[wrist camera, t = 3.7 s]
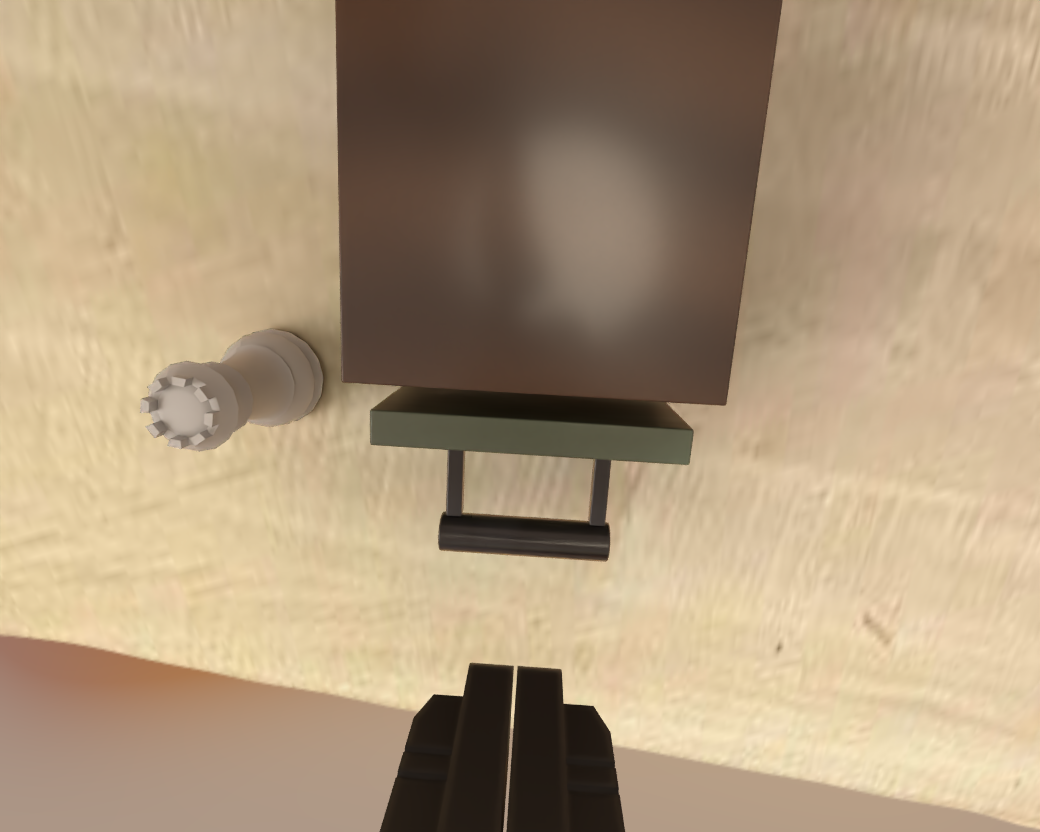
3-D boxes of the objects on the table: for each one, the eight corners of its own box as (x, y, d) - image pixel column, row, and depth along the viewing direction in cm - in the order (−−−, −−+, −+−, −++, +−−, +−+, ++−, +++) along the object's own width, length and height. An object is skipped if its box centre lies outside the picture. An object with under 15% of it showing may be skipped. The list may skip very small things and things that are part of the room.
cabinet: (662, 361, 27) (726, 405, 17) (411, 347, 27) (341, 382, 18) (702, 0, 23) (809, -188, 14) (415, -12, 24) (330, -205, 14)
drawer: (636, 514, 27) (672, 603, 20) (417, 499, 28) (370, 582, 20) (682, 83, 23) (750, -14, 16) (424, 71, 23) (367, -30, 16)
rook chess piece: (217, 349, 27) (86, 377, 19) (300, 312, 27) (200, 326, 19) (261, 434, 28) (154, 493, 20) (343, 400, 28) (264, 448, 20)
